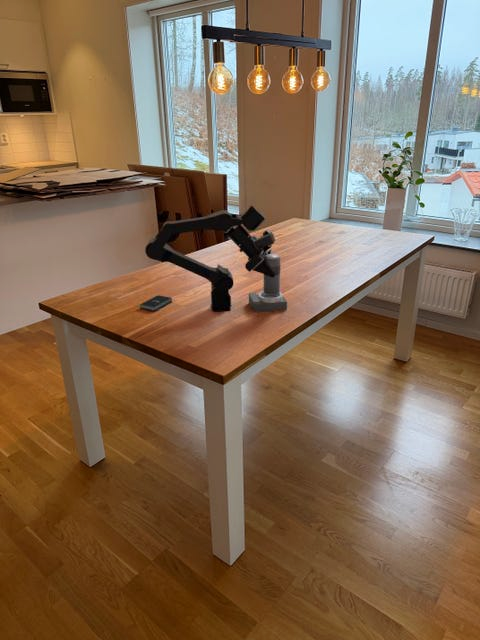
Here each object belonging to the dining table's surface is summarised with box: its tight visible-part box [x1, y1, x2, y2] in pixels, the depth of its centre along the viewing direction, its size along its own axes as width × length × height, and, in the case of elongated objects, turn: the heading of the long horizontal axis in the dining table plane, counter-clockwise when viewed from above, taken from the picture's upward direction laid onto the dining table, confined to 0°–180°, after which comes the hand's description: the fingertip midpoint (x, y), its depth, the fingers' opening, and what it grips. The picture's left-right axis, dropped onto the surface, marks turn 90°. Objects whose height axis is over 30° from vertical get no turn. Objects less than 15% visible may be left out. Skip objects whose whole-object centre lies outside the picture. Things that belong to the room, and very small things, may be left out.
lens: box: [263, 253, 281, 295], centre depth 153 cm, size 6×6×13 cm
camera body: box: [248, 290, 288, 313], centre depth 160 cm, size 12×9×4 cm
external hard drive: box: [139, 294, 173, 313], centre depth 164 cm, size 7×11×2 cm, turn 151°
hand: (275, 273), depth 152 cm, fingers closed on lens, 6 cm apart
